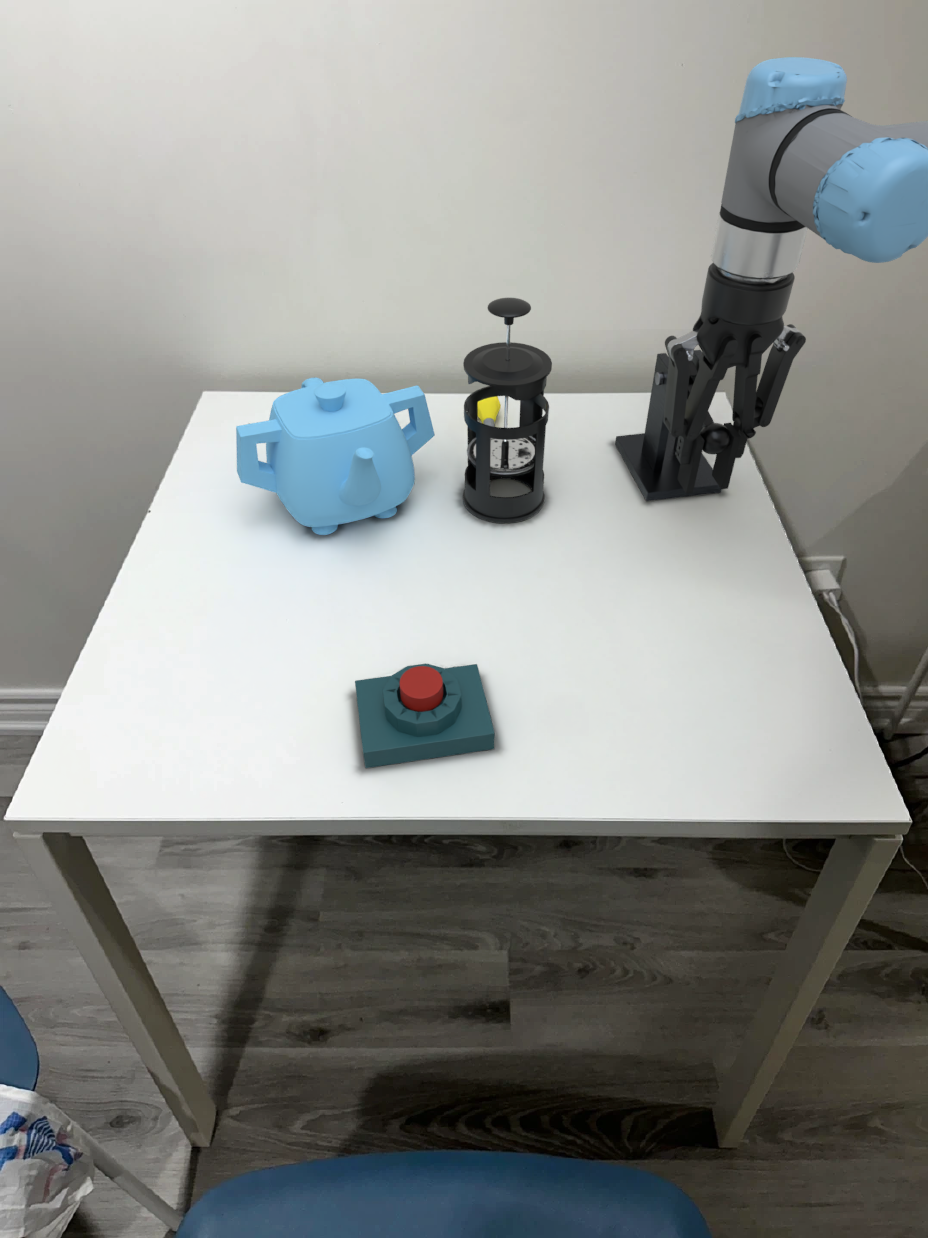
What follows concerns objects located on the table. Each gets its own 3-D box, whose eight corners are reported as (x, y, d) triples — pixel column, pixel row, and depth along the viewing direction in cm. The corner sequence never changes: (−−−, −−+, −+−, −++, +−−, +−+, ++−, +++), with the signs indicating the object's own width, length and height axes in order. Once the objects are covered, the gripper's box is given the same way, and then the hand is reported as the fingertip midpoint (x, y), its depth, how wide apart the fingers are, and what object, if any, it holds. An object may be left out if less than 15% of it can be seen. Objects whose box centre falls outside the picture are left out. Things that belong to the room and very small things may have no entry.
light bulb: (493, 407, 112) (502, 388, 109) (497, 442, 109) (507, 423, 106) (468, 402, 111) (478, 383, 108) (472, 437, 108) (481, 419, 105)
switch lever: (730, 459, 88) (738, 436, 86) (700, 462, 88) (708, 439, 85) (689, 378, 96) (696, 354, 93) (662, 381, 95) (668, 357, 93)
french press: (513, 537, 93) (521, 337, 76) (443, 508, 96) (436, 312, 80) (567, 484, 99) (584, 291, 83) (499, 459, 103) (504, 270, 87)
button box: (494, 749, 72) (495, 719, 70) (365, 768, 71) (360, 739, 68) (476, 679, 78) (477, 649, 75) (357, 696, 77) (352, 666, 74)
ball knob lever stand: (721, 492, 98) (748, 384, 88) (646, 501, 97) (665, 393, 87) (684, 436, 106) (704, 332, 97) (614, 444, 105) (628, 339, 96)
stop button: (446, 708, 71) (445, 695, 70) (403, 714, 70) (402, 701, 69) (439, 676, 73) (439, 663, 72) (398, 682, 73) (397, 668, 72)
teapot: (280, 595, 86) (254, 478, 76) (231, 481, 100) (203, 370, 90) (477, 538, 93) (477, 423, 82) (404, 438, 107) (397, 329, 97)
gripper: (818, 243, 79) (759, 456, 96) (650, 257, 77) (619, 472, 94) (859, 276, 74) (788, 495, 90) (679, 292, 72) (641, 513, 88)
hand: (702, 483), depth 92 cm, fingers closed on switch lever, 3 cm apart
